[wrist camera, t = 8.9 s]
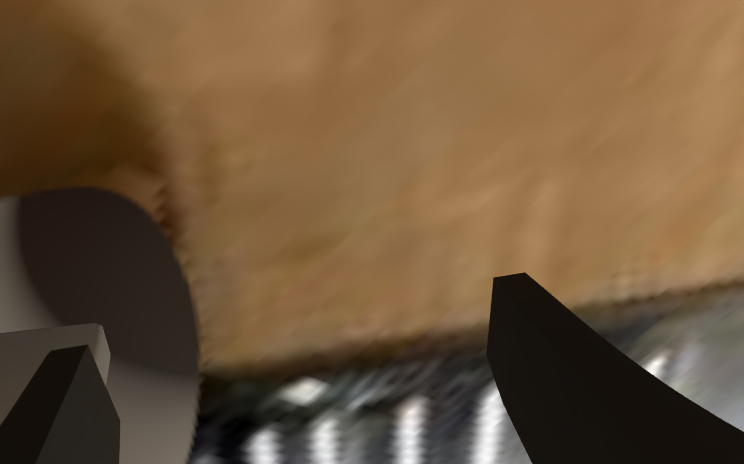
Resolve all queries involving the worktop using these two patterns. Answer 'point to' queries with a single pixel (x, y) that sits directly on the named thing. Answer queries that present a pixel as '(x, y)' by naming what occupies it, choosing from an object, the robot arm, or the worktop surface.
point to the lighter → (43, 355)
